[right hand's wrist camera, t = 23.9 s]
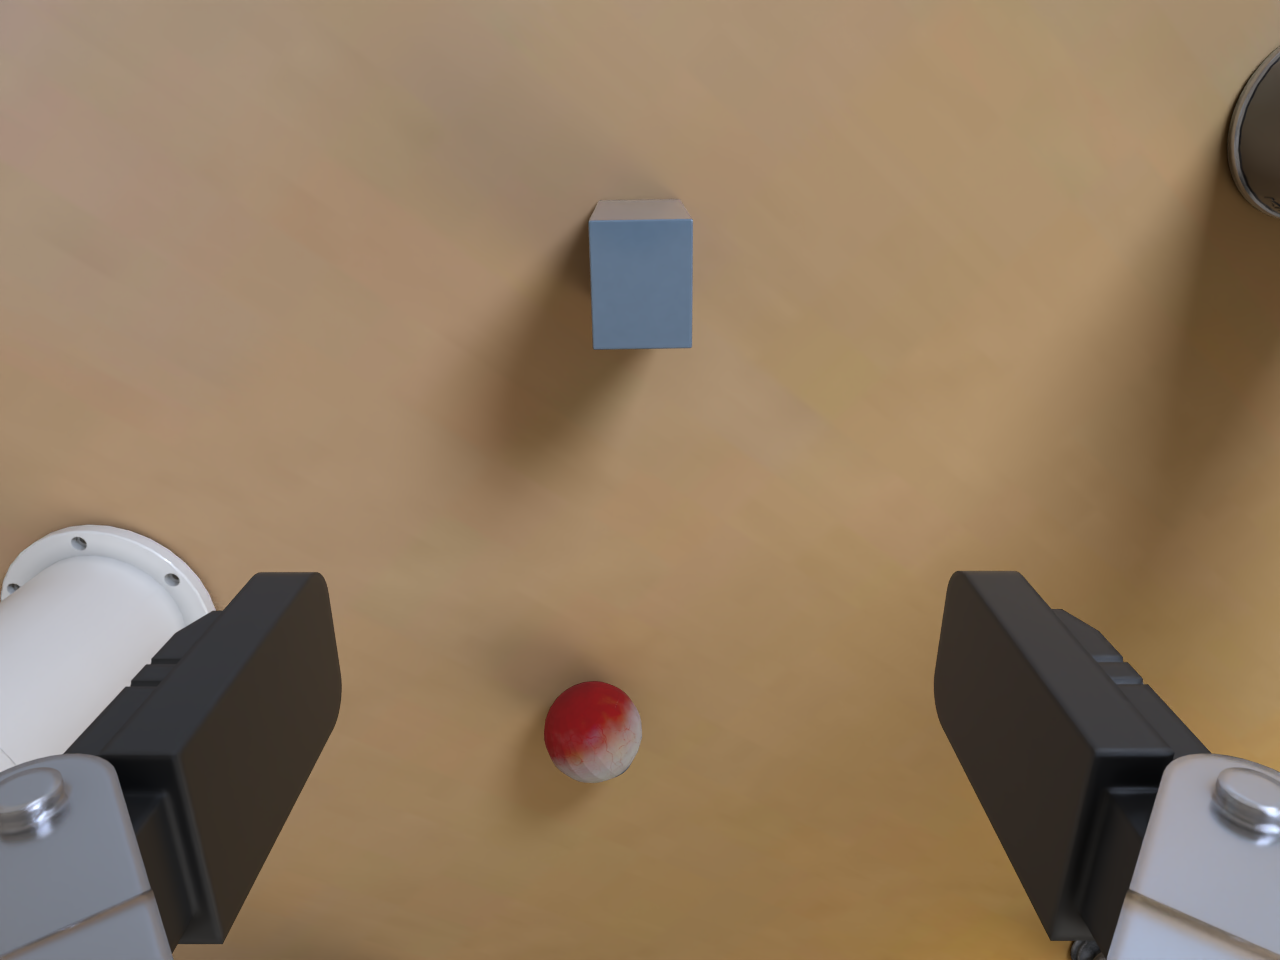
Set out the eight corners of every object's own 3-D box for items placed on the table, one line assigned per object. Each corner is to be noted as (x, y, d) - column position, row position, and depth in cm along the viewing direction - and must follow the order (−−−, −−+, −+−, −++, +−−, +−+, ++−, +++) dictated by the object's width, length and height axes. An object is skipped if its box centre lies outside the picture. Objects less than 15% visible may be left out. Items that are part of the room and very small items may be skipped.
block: (601, 304, 47) (592, 350, 37) (598, 200, 45) (588, 220, 35) (680, 303, 47) (691, 348, 37) (680, 198, 45) (692, 218, 35)
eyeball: (584, 756, 58) (578, 822, 53) (530, 688, 56) (519, 750, 51) (661, 717, 57) (663, 781, 51) (609, 646, 55) (606, 705, 49)
